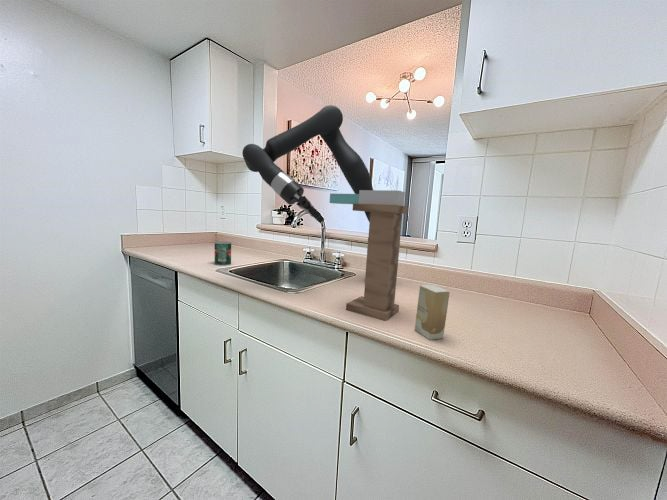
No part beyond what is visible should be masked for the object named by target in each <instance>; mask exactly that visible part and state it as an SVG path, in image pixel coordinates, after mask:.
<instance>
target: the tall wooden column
mask: <svg viewBox="0 0 667 500" xmlns="http://www.w3.org/2000/svg"><path fill="white" fill-rule="evenodd" d="M352 211H353V212H355V211H356V212H364V211H366V212H370V222H369V226H368V236H367V246H368V250H367V249H366V260H367V263H366V262H365V273H366V277H364V293H363V296H359V297H357V298H355V299H352V300H351V301H349V302H347V303H345V311H348V312H353V313H356V314H360V315H363V316H367V317H371V318H375V319H378V320H382V321H384V322H386V321H389V320H390V318H392V317H393V316H394V315H395V314H397V313H398V312H399V307H400V305H399V304H395V301H396V300H395V298H396V289H397V279H398V278H397V277H398V267H399V256H400V244H401V237H402V235H401V233H402V224H403V221H402V220H403V215H404V214H405V215H407V214H408V212H409V206H405V205H404V206H399V205H380V204H352Z"/></svg>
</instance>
